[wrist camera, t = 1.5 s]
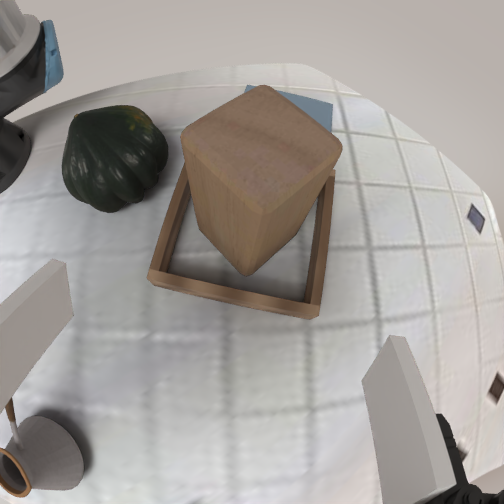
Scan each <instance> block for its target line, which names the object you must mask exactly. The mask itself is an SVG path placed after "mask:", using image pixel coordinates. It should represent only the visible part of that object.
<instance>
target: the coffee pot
mask: <svg viewBox="0 0 504 504" xmlns="http://www.w3.org/2000/svg"><path fill="white" fill-rule="evenodd" d="M5 409H6V412H7V415H8V419H9V421H10V425H11V429H12V433H13V436H12V438H11V440H10V441H9V443H8V445H7V446H6V448H5V449H3V448H0V485H1V486H2V487H3V488H4V489H5V490H6V491H7V492H8V493H10V494H11V495H13V496H16V497H25V496H27V495H28V494H29V493H30V491H31V489H44V490H70V489H73V488H74V487H76V486H78V484H79V483H80V481H81V480H82V476H83V472H84V465H83V458H82V455H81V451H80V449H79V447H78V445H77V444H76V442H75V440H74V439H73V438H72V436H71V435H70V434H69V433H68V432H67V431H66V430H65V429H64V428H63V427H62V426H61V425H59V424H57V423H56V422H54V421H53V420H50V419H48V418H45V417H42V416H31V417H28V418H26V419H25V420H24V421H22V422H21V423H20V425H19V427H18V428H17V425H16V419H15V413H14V407H13V400H12V397H11V399H10V400H9V402H8V403H7V405H6V406H5Z"/></svg>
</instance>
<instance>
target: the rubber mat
mask: <svg viewBox="0 0 504 504" xmlns="http://www.w3.org/2000/svg"><path fill="white" fill-rule="evenodd" d="M255 87H257V86H251V85H247V87H246V89H245V92H244V93H246V92H247V91H249V90H251V89H253V88H255ZM276 91H277V90H276ZM277 92H279V93H280V94H281V95H283V96H284V97H286V98H287V99H288V100H290V101H291V102H292V103H294V104H295V105H296V106H298V107H299V108H300V109H302V110H303V111H304V112H305V113H307V114H308V115H309V116H311V117H312V118H313V119H314V120H316V121H317V122H318V123H319V124H321V125H322V126H323V127H324V128H326V129H327V130H328V131H329V132H330V133H331V126H332V108H333V104H330V103H326V102H323V101H319V100H315V99H311V98H307V97H303V96H299V95H295V94H291V93H286V92H282V91H277Z"/></svg>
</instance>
